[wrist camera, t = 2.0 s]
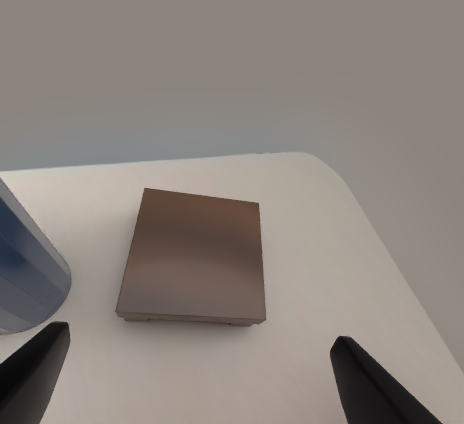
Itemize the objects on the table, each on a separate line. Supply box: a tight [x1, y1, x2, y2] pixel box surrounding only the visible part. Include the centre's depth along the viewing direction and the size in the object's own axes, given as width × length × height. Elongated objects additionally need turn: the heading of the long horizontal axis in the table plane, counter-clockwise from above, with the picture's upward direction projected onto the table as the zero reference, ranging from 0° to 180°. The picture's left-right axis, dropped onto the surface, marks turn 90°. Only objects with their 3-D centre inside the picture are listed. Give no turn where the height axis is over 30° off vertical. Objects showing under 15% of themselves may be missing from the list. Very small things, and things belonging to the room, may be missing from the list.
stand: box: [115, 188, 266, 326], centre depth 24 cm, size 11×11×4 cm
